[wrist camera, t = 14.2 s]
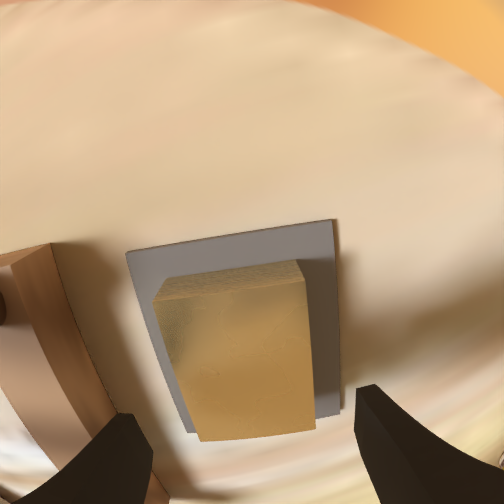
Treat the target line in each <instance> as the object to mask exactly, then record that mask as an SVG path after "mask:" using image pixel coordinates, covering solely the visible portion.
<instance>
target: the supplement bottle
mask: <svg viewBox="0 0 504 504" xmlns="http://www.w3.org/2000/svg"><path fill="white" fill-rule="evenodd" d="M499 465H500V468H501V469H503V470H504V453H503V455H502V456H501V458H500V461H499Z"/></svg>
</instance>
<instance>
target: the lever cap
mask: <svg viewBox="0 0 504 504" xmlns="http://www.w3.org/2000/svg"><path fill="white" fill-rule="evenodd" d="M152 304H153V308H154V311H155V315H156V318H157V321H158V325H159V328H160V331H161V334H162V337H163V341H164V344H165V347H166V350H167V353H168V356H169V359H170V362H171V365H172V368H173V371H174V374H175V376H176V379H177V382H178V385H179V388H180V390H181V393H182V396H183V398H184V401H185V404H186V406H187V409H188V412H189V414H190V417H191V419H192V422H193V424H194V427H195V429H196V432H197V434H198V437H199V439H200V441H201V442H206V441H224V440H237V439H248V438H258V437H266V436H274V435H282V434H289V433H295V432H302V431H308V430H313V429H316V424H315V403H314V385H313V369H312V355H311V341H310V328H309V316H308V305H307V294H306V283H305V279H304V277H303V275H302V273H301V270H300V268H299V266H298V264H297V262H296V260H295V259H293V260H286V261H279V262H273V263H266V264H259V265H253V266H246V267H239V268H232V269H225V270H218V271H211V272H205V273H198V274H191V275H183V276H176V277H169V278H166V279H165V281H164V283H163V284H162V286H161V288H160V289H159V291H158V293H157V294H156V296H155V298H154V299H153V301H152Z"/></svg>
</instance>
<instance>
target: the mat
mask: <svg viewBox="0 0 504 504" xmlns="http://www.w3.org/2000/svg"><path fill="white" fill-rule="evenodd" d="M125 255H126V259H127V263H128V266H129V270H130V274H131V277H132V281H133V284H134V288H135V291H136V295H137V298H138V301H139V304H140V308H141V311H142V314H143V317H144V320H145V324H146V327H147V330H148V333H149V336H150V339H151V341H152V344H153V347H154V350H155V353H156V356H157V359H158V361H159V364H160V367H161V370H162V372H163V375H164V377H165V380H166V383H167V385H168V388H169V390H170V393H171V395H172V398H173V400H174V403H175V405H176V408H177V410H178V413H179V415H180V417H181V420H182V422H183V424H184V427H185V429H186V431H187V433H197V432H196V429H195V427H194V424H193V422H192V419H191V417H190V414H189V412H188V409H187V406H186V404H185V401H184V398H183V396H182V393H181V390H180V388H179V385H178V382H177V379H176V376H175V374H174V371H173V368H172V365H171V362H170V359H169V356H168V353H167V350H166V347H165V344H164V341H163V337H162V334H161V331H160V328H159V325H158V321H157V318H156V315H155V311H154V308H153V304H152V301H153V299H154V298H155V296H156V294H157V293H158V291H159V289H160V288H161V286H162V284H163V283H164V281H165V279H166V278H169V277H176V276H183V275H191V274H198V273H205V272H211V271H218V270H225V269H232V268H239V267H246V266H253V265H259V264H266V263H273V262H279V261H286V260H293V259H295V260H296V262H297V264H298V266H299V268H300V270H301V273H302V275H303V277H304V279H305V283H306V294H307V305H308V316H309V328H310V341H311V355H312V369H313V385H314V403H315V419H318V418H324V417H329V416H333V415H338V414H340V339H339V313H338V293H337V277H336V263H335V250H334V238H333V227H332V220H330V219H328V220H321V221H314V222H307V223H301V224H294V225H287V226H281V227H274V228H268V229H261V230H255V231H248V232H242V233H236V234H229V235H223V236H217V237H211V238H205V239H199V240H192V241H186V242H180V243H174V244H169V245H163V246H157V247H151V248H145V249H139V250H134V251H128V252H127V253H125Z"/></svg>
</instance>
